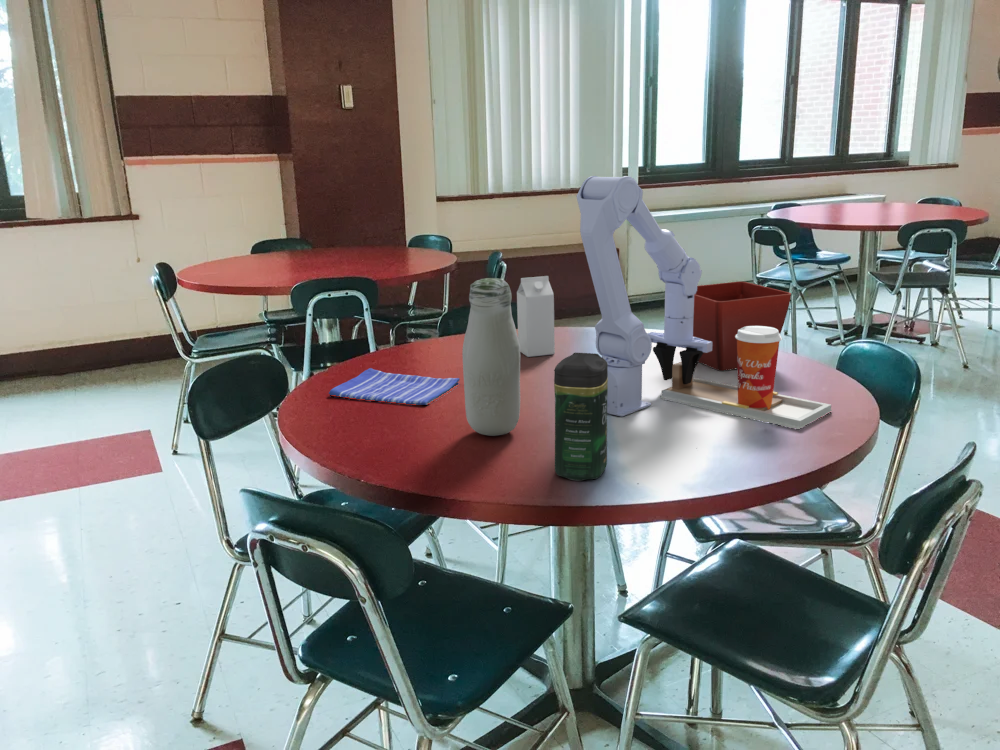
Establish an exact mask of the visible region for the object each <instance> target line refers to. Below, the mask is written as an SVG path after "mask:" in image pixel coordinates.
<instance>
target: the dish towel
mask: <svg viewBox="0 0 1000 750" xmlns="http://www.w3.org/2000/svg"><path fill="white" fill-rule="evenodd" d="M459 382H460V378H459V377H455V378H453V377H448V378H441V377H440V378H439V377H438V378H434V377H431V376H421V375H417V374H416V375H411V374H401V373H392V372H384V371H381V370H378V369H373V368H372V367H370V368H368V369H365V370H363V372H361V373H360V374H359V375H357V376H355V377H353V378H351V379H349V380H347V381H346V382H343V383H341V384H339V385H337V386H335V387H333V388H332V389H330V391H328V395H329V394H330V395H336V396H340V397H349V398H356V399H365V400H375V401H385V402H386V401H387V402H396V403H406V404H416V405H427V404H428V403H430V402H431V401H433V400H434V399H436V398H438V397H439V396H441V395H442V394H444V393H446V392H447V391H449V390H450V389H451V388H453V387H454V386H456V385H458V384H459V385H460V383H459ZM330 395H329V396H330ZM427 406H428V405H427Z"/></svg>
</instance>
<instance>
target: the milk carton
mask: <svg viewBox="0 0 1000 750" xmlns="http://www.w3.org/2000/svg"><path fill="white" fill-rule="evenodd" d="M549 280H550V278H549V275H544V276H543V275H542V276H534V277H532V276H530V277H521V278H520V283H519V286H518V289H517V291H516V307H517V309H516V311H517V312H516V313H517V335H518V339H519V344H520V354H523V355H525V356H526V358H529V357H530V358H531V357H541V356H550V355H555V354H556V353H555V350H556V347H555V344H556V343H555V298H554V297H555V296H554V295H555V294H554V291H553V289H552V285H551V283H550V281H549Z"/></svg>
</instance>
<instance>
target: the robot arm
mask: <svg viewBox="0 0 1000 750" xmlns="http://www.w3.org/2000/svg"><path fill="white" fill-rule="evenodd" d="M643 194H644V192H643V189H642V188H641V187H640V186H639V185H638V182H637V181H636V180H635V178H634V177H632V176H629V175H623V176H597V175H591V176H589V177H587V178H586V179H585V180H584V181H583V182H582V184H581V185H580V188H579V190H578V193H577V194H576V202H577V205H578V209H579V213H580V220H579V221H580V223H579V224H580V228H579V232H580V236H581V237H580V238H581V241H582V245H583V246H582V247H583V248H584V254H585V256H586V261H587V264H588V269H589V271H590V276H591V280H592V283H593V286H594V287H593V288H594V291H595V294H596V298H597V303H598V307H599V310H600V314H601V319H600V320H599V321H598V322H597V323H596V324H595V325H594V330H595V333H596V337H595V348H596V351H597V354H599V356H601V357H602V358H603V359H605V360H606V362H607V364H608V367H607V368H608V392H607V414H609V415H614V416H618V417H625V416H628V415H630V414H632V413H634V412H638V411H640V410H642V409H645V408H648V407H650V406H651V405H652V402H648V401H644V400H643V399H642V398H643V365H645V364H646V361H647V360H648V358H649V357H650V355H651V352H652V351H653V354H654V355H655V357H656V359H657V360H658V363H659V366H660V370H661V373H662V378H663V381H668V380H672V366H673V364H674V358H675V354H676V349H677V348H681V349H684V350H681V351H679V356H680V362H682V381H683V384H688V383H691V381H692V377H694V372H695V370H696V367H697V365H698V363H699V362H698V361H699V359H700V358H701V356H702V354H703V353H704V352H705V353H708V352H711V351H712V342H711V341H707V340H703V339H700V338H697V337H693V319H694V294H696V291H697V286H699V285H698V284H699V282H700V280H701V278H702V274H703V270H702V269H701V265H700V263H699V262H698V260H697V259H696V258H695V257H692V256H688V254H687V253H686V250H685V249H684V248H683V247H682V246H681V245H680V243H679V242H678V240H677V239H676V237H675V236H676V235H675V233H674V231H673V230H669V229H665V228H664V229H662V228H660V226H659V224H658V222H657V220H656V219H655V217H654V216H653V214H652V213H651V210H649V208H648V206H647V205H646V203H645V201H644V199H643ZM625 220H626V221H627V222H629V223H630V225H631V226H632V227H633V229H635V231H636V232H637V233H638V234H639V235H640V236H641V237H642V238H643V239H644V241H645V242H644V250H645V251H646V253H647V254H648V255H649V257H650V258H651V259H652V261H653V262H654V264H656V267H657V270H658V277H659V280H660V281H662V282H663V283H664V323H663V325H664V327H663V329H664V330H663V332H656V331H655V332H654V331H650V332H648V333H647V331H646V329H645V326H644V323H643V321H641V320H640V319H639V318H638V316H636V315H635V314H634V313H633V312H632V309H631V305H630V304H631V303H630V301H629V300H630V299H629V296H628V292H627V288H626V284H625V279H624V277H623V271H622V267H621V263H620V259H619V254H618V251H617V248H616V243H615V239H614V238H615V237H614V233H615V231H616V230H617V229H619V228H620V227H621V226H622V225H623V224H624V222H625ZM652 343H654V344H656V345H655V346H654V347H652Z"/></svg>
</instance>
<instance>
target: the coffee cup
mask: <svg viewBox="0 0 1000 750" xmlns="http://www.w3.org/2000/svg"><path fill="white" fill-rule="evenodd" d="M735 338H736V339H737V369H736V371H737V386H738V403H739V404H741V405H746V406H749V407H751V408H764V407H767V409H768V410H769V409H770V407H771V404H772V398H773V392H774V391H775V390H774V388H775V381H776V373H777V366H778V365H777V364H778V357H779V348H780V342H781V341H782V340H783V337H782V336H781V333H779V330H778V329H776V328H773V327H767V326H746V327H743V328H741V329H739V330H738V333H737V334H736V336H735Z"/></svg>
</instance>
